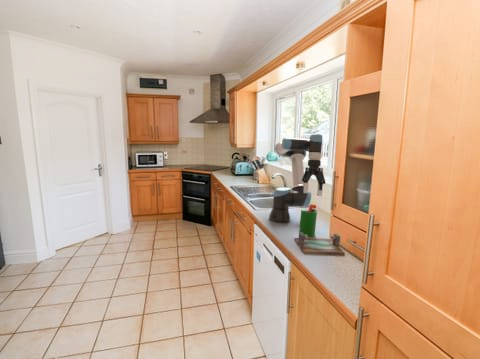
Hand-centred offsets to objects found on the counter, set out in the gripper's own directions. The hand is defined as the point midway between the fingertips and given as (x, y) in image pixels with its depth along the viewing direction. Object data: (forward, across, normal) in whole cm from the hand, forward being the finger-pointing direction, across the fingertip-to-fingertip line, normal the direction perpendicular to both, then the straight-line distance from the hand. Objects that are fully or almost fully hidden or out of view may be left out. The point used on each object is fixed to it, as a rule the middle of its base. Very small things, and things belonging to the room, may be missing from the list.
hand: (312, 194), depth 159 cm
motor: (+26, -3, +1) cm, 26 cm away
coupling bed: (+28, +15, -5) cm, 32 cm away
